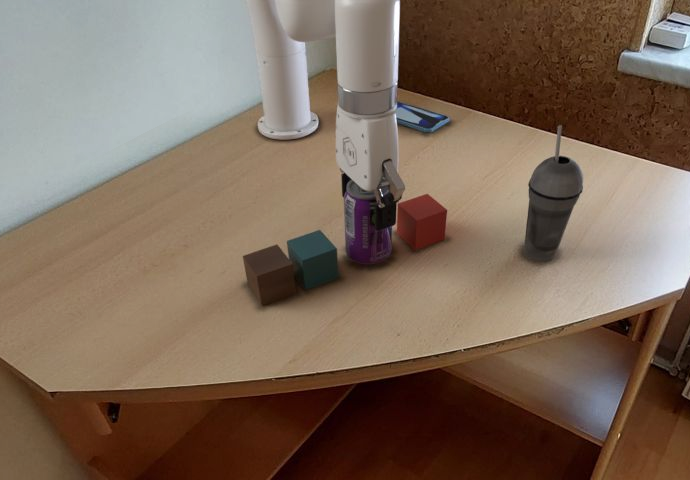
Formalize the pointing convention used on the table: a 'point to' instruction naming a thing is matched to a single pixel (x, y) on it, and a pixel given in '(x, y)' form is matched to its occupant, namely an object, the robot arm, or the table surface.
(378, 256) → the beverage can
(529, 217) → the beverage cup
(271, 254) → the block
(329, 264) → the block
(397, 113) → the smartphone
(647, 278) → the table surface
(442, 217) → the block
